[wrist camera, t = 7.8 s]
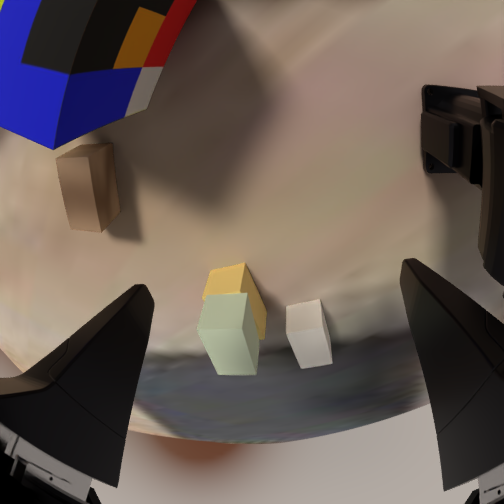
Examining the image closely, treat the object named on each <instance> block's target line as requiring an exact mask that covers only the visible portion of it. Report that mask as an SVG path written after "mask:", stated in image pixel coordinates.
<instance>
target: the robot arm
mask: <svg viewBox="0 0 504 504" xmlns="http://www.w3.org/2000/svg"><path fill="white" fill-rule="evenodd" d="M428 89H430V90H431V93H430V95H429V94H428V93H427V90H428ZM422 102H423V112H422V114H421V128H422V148H423V149H424V162H423V166H424V169H425V170H426V171H427V172H428V173H458V174H460V175H461V176H462V177H463V178H465V179H466V180H467V181H468V182H470V183H471V184H474V185H475V186H477V187H478V188H479V189H480V190H482V202H481V216H480V227H479V236H478V248H479V251H480V253H481V256H482V259H483V260H484V263H483V266H484V268H485V269H486V271H487V272H488V273H489V274H490V275H491V276H492V277H493V278H494V279H495V280H496V281H498V282H499V283H500V284H501V285H503V286H504V86H477V90H471V89H464V88H456V87H448V86H439V85H424V86H423V87H422ZM430 164H432V167H431V168H429V165H430ZM400 286H401V291H402V295H403V299H404V303H405V308H406V313H407V318H408V322H409V326H410V329H411V332H412V336H413V339H414V342H415V345H416V349H417V352H418V356H419V359H420V363H421V367H422V370H423V374H424V378H425V382H426V386H427V390H428V395H429V399H430V404H431V408H432V413H433V418H434V423H435V429H436V434H437V441H438V447H439V454H440V462H441V469H442V479H443V489H444V491H447V490H450V489H452V488H455V487H457V486H460V485H463V484H465V483H467V482H470V481H472V480H474V479H477V478H478V484H479V489H476V490H474V491H472V493H471V495H470V496H469V498H468V499H467V501H466V502H465V504H504V324H503V323H502V322H500V321H499V320H498V319H497V318H495V317H494V316H493V315H492V314H490V313H489V312H488V311H486V310H485V309H484V308H483V307H481V306H480V305H479V304H478V303H476V302H475V301H474V300H472V299H471V298H470V297H469V296H467V295H466V294H465V293H463V292H462V291H461V290H459V289H458V288H457V287H455V286H454V285H453V284H451V283H450V282H448V281H447V280H446V279H444V278H443V277H441V276H440V275H439V274H437V273H436V272H434V271H433V270H432V269H430V268H429V267H427V266H426V265H424V264H423V263H421V262H420V261H419V260H417V259H415V258H410V259H404V260H403V262H402V269H401V275H400ZM503 298H504V292H503ZM153 312H154V300H153V298H152V296H151V294H150V292H149V290H148V288H147V286H146V285H145V284H136V285H134V286H132V287H131V288H130V289H128V290H127V291H126V292H125V293H123V294H122V295H121V296H119V297H118V298H117V299H116V300H114V301H113V302H112V303H111V304H109V305H108V306H107V307H106V308H104V309H103V310H102V311H101V312H99V313H98V314H97V315H96V316H94V317H93V318H92V319H91V320H90V321H88V322H87V323H86V324H85V325H83V326H82V327H81V328H80V329H79V330H77V331H76V332H75V333H74V334H73V335H71V336H70V338H68V339H67V340H65V341H64V342H63V343H62V344H61V345H59V346H58V347H57V348H56V349H55V350H53V351H52V352H51V353H49V354H48V355H47V356H46V357H44V358H43V359H42V360H40V361H39V362H38V363H36V364H35V365H34V366H32V367H31V368H30V369H28V370H27V371H26V372H24V373H23V374H21V375H19V376H16V377H11V378H0V504H101V502H100V500H99V498H98V496H97V494H96V492H95V490H94V488H91V487H90V485H91V481H92V478H93V479H95V480H98V481H100V482H102V483H105V484H108V485H110V486H113V487H116V488H117V486H118V482H119V476H120V469H121V462H122V457H123V451H124V446H125V441H126V440H125V439H126V434H127V430H128V425H129V420H130V415H131V410H132V406H133V401H134V397H135V393H136V388H137V384H138V380H139V376H140V372H141V368H142V364H143V360H144V356H145V352H146V348H147V345H148V340H149V335H150V329H151V323H152V317H153Z"/></svg>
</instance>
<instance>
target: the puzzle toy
mask: <svg viewBox="0 0 504 504" xmlns="http://www.w3.org/2000/svg"><path fill="white" fill-rule="evenodd" d="M196 1H197V0H0V127H2V128H4V129H7V130H9V131H11V132H13V133H16V134H18V135H20V136H23V137H25V138H27V139H29V140H32V141H34V142H36V143H38V144H41V145H43V146H45V147H47V148H50V149H52V150H55V149H56V148H58V147H60V146H62V145H64V144H66V143H68V142H70V141H72V140H74V139H76V138H78V137H80V136H83V135H85V134H87V133H89V132H91V131H93V130H96V129H98V128H100V127H103V126H105V125H107V124H110V123H112V122H114V121H117V120H119V119H122V118H124V117H127V116H130V115H132V114H135V113H138V112H140V111H143V110H146V109H147V107H148V104H149V101H150V99H151V96H152V94H153V91H154V89H155V86H156V84H157V81H158V79H159V76H160V74H161V72H162V69H163V67H164V65H165V62H166V60H167V58H168V56H169V54H170V51H171V49H172V47H173V45H174V43H175V41H176V39H177V37H178V35H179V33H180V31H181V29H182V27H183V25H184V23H185V21H186V19H187V17H188V16H189V14H190V12H191V10H192V8H193V6H194V5H195V3H196Z"/></svg>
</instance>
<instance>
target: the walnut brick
mask: <svg viewBox="0 0 504 504" xmlns="http://www.w3.org/2000/svg"><path fill="white" fill-rule="evenodd" d="M56 164H57V170H58V175H59V180H60V186H61V190H62V195H63V200H64V204H65V209H66V213H67V217H68V221H69V225H70V228H71V229H72V230H82V231H91V232H100V233H102V232H103V230H104V229H105V228H106V227H107V226H108V225H109V224H110V223H111V222H112V221H113V219H114V218H115V217H116V216H117V215H118V214H119V213H120V212H121V210H120V204H119V197H118V190H117V182H116V174H115V166H114V156H113V146H112V143H102V144H86V145H80V146H78V147H76V148H74V149H72V150H70V151H68V152H67V153H65V154H63V155H61V156H59V157H58V158H56Z"/></svg>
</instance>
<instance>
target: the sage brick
mask: <svg viewBox="0 0 504 504" xmlns="http://www.w3.org/2000/svg"><path fill="white" fill-rule="evenodd" d="M197 332H198V334H199V336H200V338H201V340H202V342H203V344H204V346H205V349H206V351H207V353H208V355H209V357H210V359H211V361H212V363H213V365H214V367H215V369H216V371H217V373H218V375H256V374H257V364H258V354H259V344H260V341H259V337H258V333H257V329H256V325H255V321H254V317H253V313H252V309H251V305H250V301H249V297H248V293H235V294H217V295H206V299H205V302H204V306H203V309H202V312H201V316H200V319H199V323H198V326H197Z"/></svg>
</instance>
